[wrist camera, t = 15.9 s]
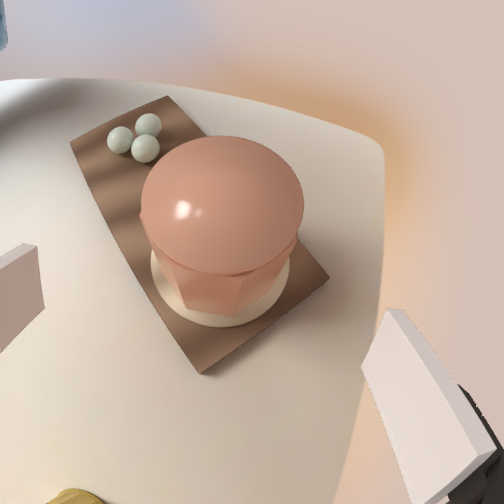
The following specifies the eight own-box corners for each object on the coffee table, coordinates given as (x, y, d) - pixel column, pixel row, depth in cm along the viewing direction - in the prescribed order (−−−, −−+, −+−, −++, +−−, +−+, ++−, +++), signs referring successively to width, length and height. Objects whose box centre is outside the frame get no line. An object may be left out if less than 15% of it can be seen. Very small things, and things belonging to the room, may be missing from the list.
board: (72, 148, 31) (69, 142, 30) (168, 102, 36) (167, 95, 35) (199, 374, 23) (199, 373, 22) (325, 282, 28) (330, 277, 27)
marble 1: (107, 147, 30) (100, 129, 27) (130, 136, 31) (125, 117, 28) (115, 163, 29) (109, 144, 27) (140, 150, 30) (135, 131, 28)
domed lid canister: (153, 303, 24) (119, 252, 15) (179, 207, 28) (168, 128, 18) (265, 323, 24) (298, 285, 15) (277, 224, 28) (306, 150, 19)
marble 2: (133, 134, 31) (129, 115, 29) (156, 123, 32) (153, 104, 30) (143, 148, 31) (139, 129, 28) (167, 137, 32) (164, 118, 29)
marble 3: (129, 156, 30) (124, 136, 27) (153, 144, 31) (150, 124, 28) (140, 173, 29) (135, 153, 26) (165, 160, 30) (162, 140, 27)
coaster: (128, 241, 26) (127, 240, 26) (236, 181, 30) (236, 179, 30) (202, 356, 23) (201, 356, 22) (315, 275, 27) (316, 273, 26)
